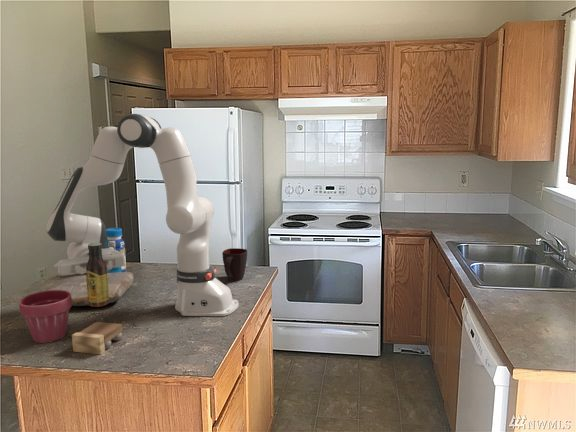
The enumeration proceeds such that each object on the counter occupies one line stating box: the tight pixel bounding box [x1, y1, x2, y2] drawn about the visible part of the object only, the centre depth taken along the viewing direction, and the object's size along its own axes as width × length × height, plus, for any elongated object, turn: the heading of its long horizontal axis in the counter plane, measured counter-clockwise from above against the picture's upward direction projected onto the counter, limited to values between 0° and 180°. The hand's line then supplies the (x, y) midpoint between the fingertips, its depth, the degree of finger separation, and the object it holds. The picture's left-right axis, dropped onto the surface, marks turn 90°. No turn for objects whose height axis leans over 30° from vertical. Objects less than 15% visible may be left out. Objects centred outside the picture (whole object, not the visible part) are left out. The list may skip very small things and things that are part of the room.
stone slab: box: [45, 271, 135, 307], centre depth 184 cm, size 31×29×6 cm
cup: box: [221, 247, 248, 282], centre depth 203 cm, size 10×14×12 cm
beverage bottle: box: [104, 227, 127, 273], centre depth 213 cm, size 8×8×20 cm
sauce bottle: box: [85, 243, 109, 308], centre depth 152 cm, size 6×6×20 cm
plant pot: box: [18, 290, 73, 344], centre depth 148 cm, size 14×14×13 cm
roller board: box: [71, 321, 124, 355], centre depth 143 cm, size 9×11×5 cm
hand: (96, 269), depth 151 cm, fingers closed on sauce bottle, 6 cm apart
